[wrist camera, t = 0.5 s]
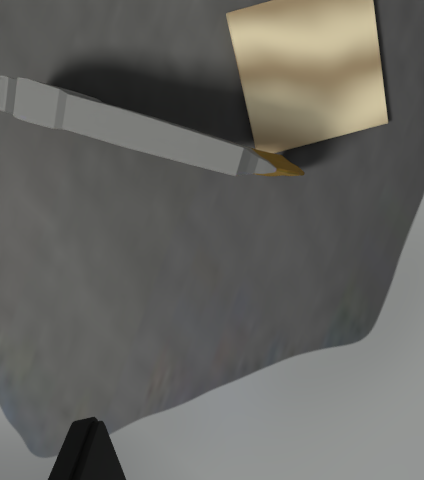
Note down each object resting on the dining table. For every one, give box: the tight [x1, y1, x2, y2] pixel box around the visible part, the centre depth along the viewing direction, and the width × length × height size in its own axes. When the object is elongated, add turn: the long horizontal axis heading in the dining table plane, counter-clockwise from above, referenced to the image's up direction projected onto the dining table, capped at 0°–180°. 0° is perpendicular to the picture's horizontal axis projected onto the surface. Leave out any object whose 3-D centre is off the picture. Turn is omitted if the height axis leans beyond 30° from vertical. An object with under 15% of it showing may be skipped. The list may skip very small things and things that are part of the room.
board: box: [226, 0, 388, 153], centre depth 36 cm, size 13×13×1 cm
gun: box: [0, 75, 305, 176], centre depth 34 cm, size 3×25×15 cm, turn 75°
